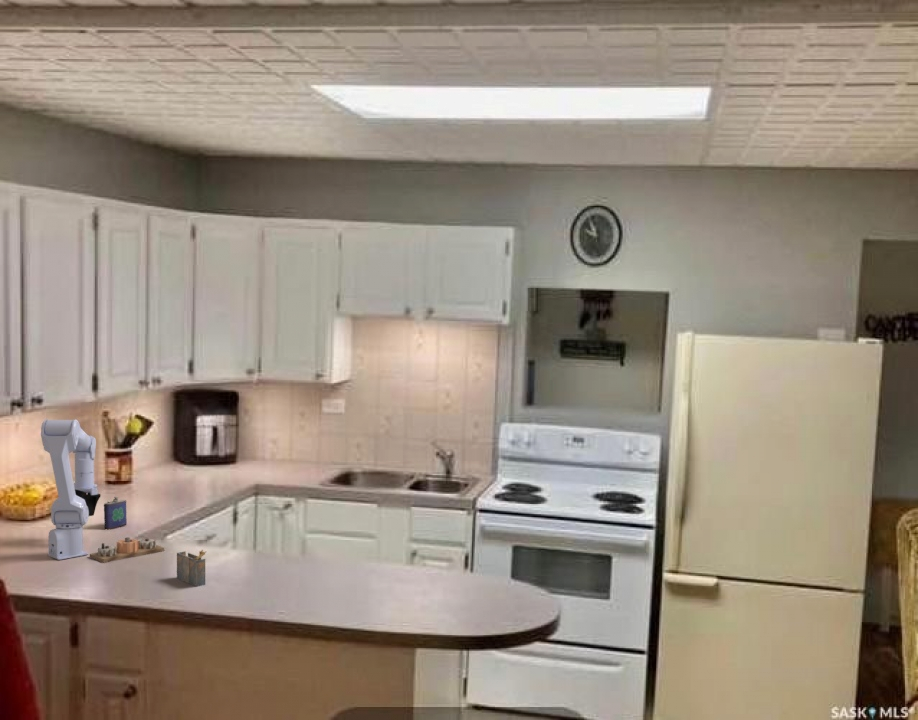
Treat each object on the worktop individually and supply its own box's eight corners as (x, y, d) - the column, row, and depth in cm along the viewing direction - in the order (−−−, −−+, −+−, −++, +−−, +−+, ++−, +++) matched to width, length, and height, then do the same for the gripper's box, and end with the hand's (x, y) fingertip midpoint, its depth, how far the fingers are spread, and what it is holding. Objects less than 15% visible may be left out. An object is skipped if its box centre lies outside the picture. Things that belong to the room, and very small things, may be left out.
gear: (123, 554, 290) (123, 544, 290) (113, 550, 294) (113, 541, 294) (141, 550, 295) (141, 541, 295) (131, 547, 299) (131, 537, 299)
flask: (123, 524, 335) (123, 494, 335) (129, 525, 334) (129, 494, 334) (102, 529, 327) (102, 498, 327) (108, 530, 326) (108, 499, 325)
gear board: (103, 562, 284) (103, 546, 284) (89, 557, 290) (89, 540, 290) (164, 550, 299) (164, 535, 298) (149, 545, 305) (149, 530, 305)
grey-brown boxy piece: (206, 586, 263) (206, 551, 262) (196, 588, 261) (196, 553, 260) (186, 577, 271) (186, 543, 270) (176, 579, 269) (176, 545, 268)
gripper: (106, 473, 305) (107, 515, 306) (86, 468, 315) (86, 508, 316) (85, 476, 300) (85, 518, 301) (65, 470, 310) (65, 511, 311)
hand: (84, 513), depth 308 cm, fingers open, 7 cm apart
